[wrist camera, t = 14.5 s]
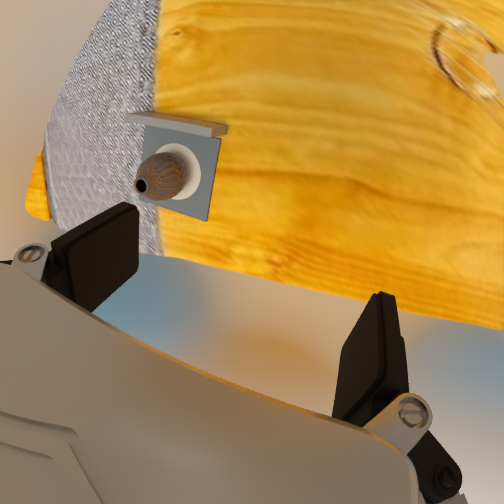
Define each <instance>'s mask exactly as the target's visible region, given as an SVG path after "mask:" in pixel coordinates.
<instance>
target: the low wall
mask: <svg viewBox="0 0 504 504" xmlns="http://www.w3.org/2000/svg"><path fill="white" fill-rule="evenodd" d="M125 122H131V123H138V124H144V125H150V126H155V127H161V128H166V129H172V130H177V131H182V132H187V133H192V134H196V135H201V136H205V137H210V138H211V137H215V136H220V135H224V134H226V131H227V126H226V125H221V124H217V123H212V122H207V121H202V120H197V119H192V118H186V117H180V116H175V115H168V114H162V113H155V112H148V111H144V112H135V113H127V114H126V119H125Z"/></svg>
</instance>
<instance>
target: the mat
mask: <svg viewBox="0 0 504 504" xmlns="http://www.w3.org/2000/svg"><path fill="white" fill-rule="evenodd" d="M220 144H221V139H218V138H214V137H211V138H210V137H205V136H201V135H196V134H192V133H187V132H182V131H177V130H172V129H166V128H161V127H155V126H150V125H146V127H145V135H144V144H143V154H142V163H143V162H144V161H145V160H146V159H147V158H148V157H150V156H151V155H154V154H157V153H161V152H169V153H173V154H176V155H177V156H179V157H180V158H182V160H183V161H184V162H185V164H186V166H187V169H188V179H187V183H186V185H185V187H184V188H183V190H182V191H181V192H180V193H179V194H178V195H176V196H175V197H173V198H171V199H169V200H165V201H153V200H150V199H148V198H146V197H145V196H143V195H140V194H139V200H142V201H145V202H148V203H151V204H154V205H157V206H160V207H163V208H166V209H169V210H172V211H175V212H178V213H181V214H184V215H187V216H190V217H193V218H196V219H199V220H202V221H205V222H206V221H207V219H208V212H209V206H210V200H211V194H212V188H213V183H214V177H215V171H216V166H217V160H218V155H219V150H220Z"/></svg>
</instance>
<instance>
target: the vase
mask: <svg viewBox="0 0 504 504" xmlns="http://www.w3.org/2000/svg"><path fill="white" fill-rule="evenodd" d="M187 179H188V169H187V166H186V164H185V162H184V161H183V160H182V158H180V157H179V156H177V155H176V154H173V153H169V152H161V153H157V154H154V155H151V156H150V157H148V158H147V159H146V160H145V161H144V162H143V163H142V164H141V165H140V167H139V169H138V171H137V175H136V179H135V181H134V188H135V190H136V192H137V193H138V194H140V195H143V196H145V197H146V198H148V199H150V200H153V201H165V200H169V199H171V198H173V197H175V196H176V195H178V194H179V193H180V192H181V191H182V190H183V188H184V187H185V185H186V183H187Z"/></svg>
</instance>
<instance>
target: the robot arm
mask: <svg viewBox="0 0 504 504" xmlns="http://www.w3.org/2000/svg"><path fill="white" fill-rule="evenodd" d="M51 247H52V251H50V252H49V251H48V248H47V247H46V246H45V245H43V244H40V243H33V244H29V245H25V246H24V247H22V248H20V249H19V250H18V251H17V252H16V254H15V256H14V258H13V260H9V261H0V504H468V503H467V500H466V498H465V495H464V493H463V494H461V495H460V494H459V489H460V488H461V484H462V474H461V470H460V468H459V466H458V465H457V464H456V462H455V461H454V460H453V459H452V458H451V457H450V455H449V454H448V453H447V452H446V451H445V449H444V448H443V447H442V446H441V444H440V443H439V442H438V441H437V440H436V438H435V437H434V436H433V435H432V434H431V433H430V431H429V430H428V429H429V427H430V426H431V424H432V412H431V409H430V407H429V405H428V404H427V402H426V401H425V400H424V399H423V398H421V397H420V396H418V395H416V394H414V393H409V385H408V384H409V383H408V371H407V361H406V352H405V343H404V339H403V337H402V336H401V334H400V326H399V319H398V312H397V306H396V299H395V296H393V295H390V294H387V293H385V292H382V291H380V292H379V293H378V294H375V293H374V294H373V295H372V296H371V298H370V300H369V302H368V303H367V305H366V307H365V309H364V311H363V312H362V314H361V316H360V318H359V319H358V321H357V323H356V325H355V326H354V328H353V330H352V331H351V333H350V335H349V336H348V338H347V340H346V342H345V343H344V345H343V347H342V350H341V356H340V363H339V372H338V379H337V387H336V393H335V400H334V406H333V412H332V417H330V416H327V415H323V414H320V413H317V412H314V411H311V410H307V409H304V408H301V407H298V406H295V405H292V404H289V403H286V402H284V401H281V400H278V399H275V398H272V397H269V396H267V395H264V394H261V393H258V392H255V391H253V390H250V389H248V388H245V387H242V386H240V385H237V384H235V383H232V382H229V381H227V380H225V379H222V378H220V377H217V376H215V375H213V374H210V373H208V372H206V371H203V370H201V369H199V368H197V367H195V366H192V365H190V364H188V363H186V362H183V361H181V360H179V359H177V358H175V357H173V356H171V355H169V354H167V353H164V352H162V351H160V350H158V349H156V348H154V347H152V346H150V345H148V344H147V343H144V342H143V341H140V340H139V339H137V338H135V337H133V336H131V335H129V334H127V333H126V332H124V331H122V330H120V329H118V328H117V327H115V326H113V325H111V324H109V323H108V322H106V321H104V320H102V319H101V318H99V317H97V316H96V315H94V314H92V312H93V311H94V310H95V309H96V308H97V307H98V306H99V305H100V304H101V303H102V302H103V301H104V300H106V299H107V298H108V297H109V296H110V295H111V294H112V293H113V292H115V291H116V290H117V289H118V288H119V287H120V286H121V285H123V284H124V283H125V282H126V281H127V280H128V279H129V278H130V277H132V276H133V275H134V274H135V273H136V272H137V269H138V266H139V265H138V264H139V257H138V256H139V211H138V210H137V207H136V206H135V205H133V204H130V203H127V202H121V203H119V204H117V205H115V206H113V207H111V208H109V209H108V210H106V211H104V212H102V213H100V214H98V215H96V216H95V217H93V218H91V219H89V220H88V221H86V222H84V223H82V224H80V225H79V226H77V227H75V228H74V229H72V230H70V231H68V232H67V233H65V234H64V235H62V236H60V237H58V238H57V239H55V240H54V241H52V242H51Z"/></svg>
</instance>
